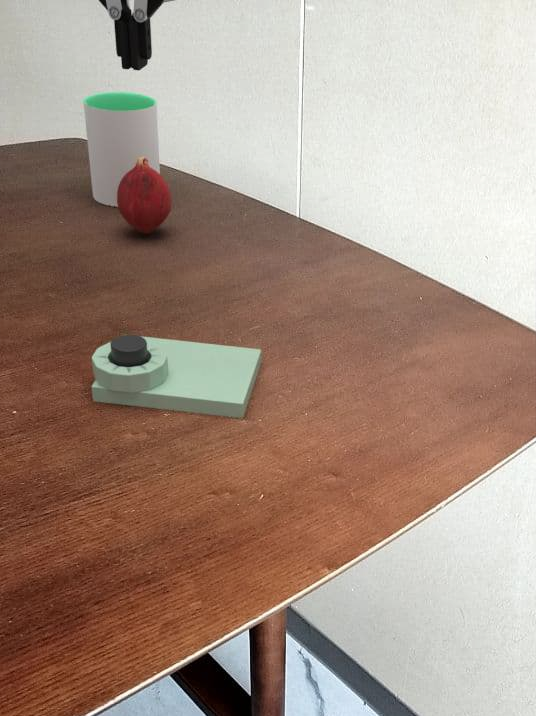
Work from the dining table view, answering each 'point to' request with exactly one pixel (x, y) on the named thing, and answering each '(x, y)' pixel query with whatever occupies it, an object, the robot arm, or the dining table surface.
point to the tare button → (129, 351)
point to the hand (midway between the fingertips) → (135, 66)
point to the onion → (144, 197)
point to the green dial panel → (180, 377)
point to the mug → (119, 139)
